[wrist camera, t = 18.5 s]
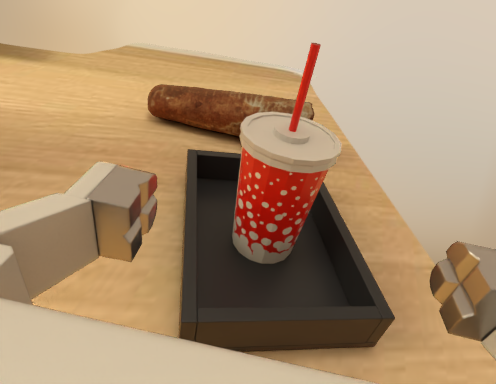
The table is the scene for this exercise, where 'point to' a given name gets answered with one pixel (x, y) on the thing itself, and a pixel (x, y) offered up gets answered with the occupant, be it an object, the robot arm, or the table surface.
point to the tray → (271, 275)
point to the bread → (215, 107)
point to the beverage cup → (280, 176)
